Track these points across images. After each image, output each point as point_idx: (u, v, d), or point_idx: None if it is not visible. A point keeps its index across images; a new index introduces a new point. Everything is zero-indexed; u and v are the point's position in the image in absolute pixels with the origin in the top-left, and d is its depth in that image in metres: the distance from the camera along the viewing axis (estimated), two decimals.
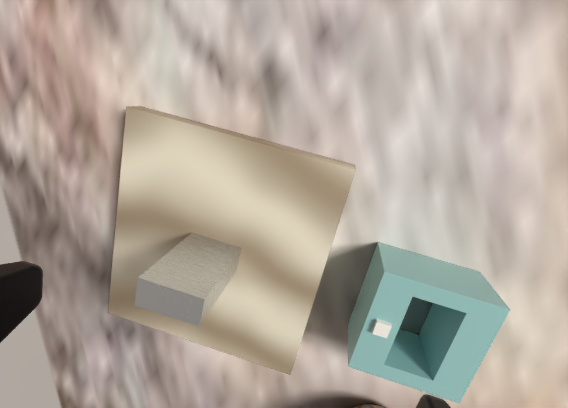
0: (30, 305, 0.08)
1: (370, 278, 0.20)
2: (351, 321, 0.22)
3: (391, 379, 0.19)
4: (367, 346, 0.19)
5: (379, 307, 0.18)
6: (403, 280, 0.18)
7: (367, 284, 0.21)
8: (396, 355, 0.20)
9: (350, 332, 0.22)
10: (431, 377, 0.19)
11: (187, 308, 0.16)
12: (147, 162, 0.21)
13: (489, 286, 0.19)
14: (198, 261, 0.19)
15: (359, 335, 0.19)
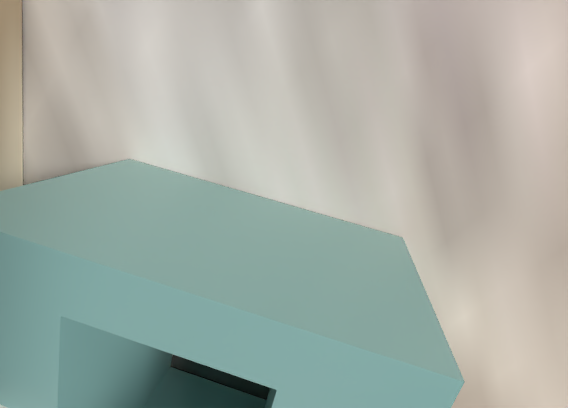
0: None
1: None
2: None
3: None
4: None
5: None
6: (7, 246, 0.04)
7: None
8: None
9: None
10: None
11: None
12: None
13: (410, 276, 0.06)
14: None
15: None
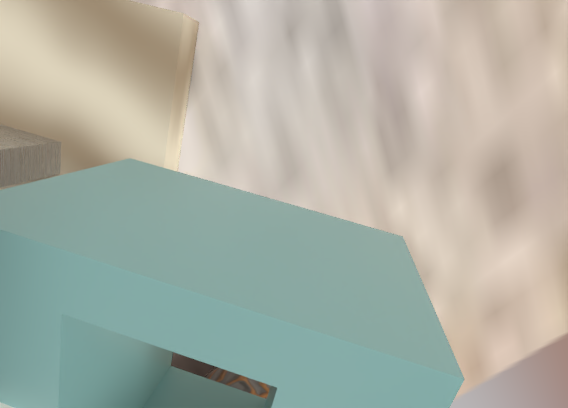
0: None
1: None
2: None
3: None
4: None
5: None
6: (8, 244, 0.04)
7: None
8: None
9: None
10: None
11: None
12: None
13: (410, 274, 0.06)
14: None
15: None
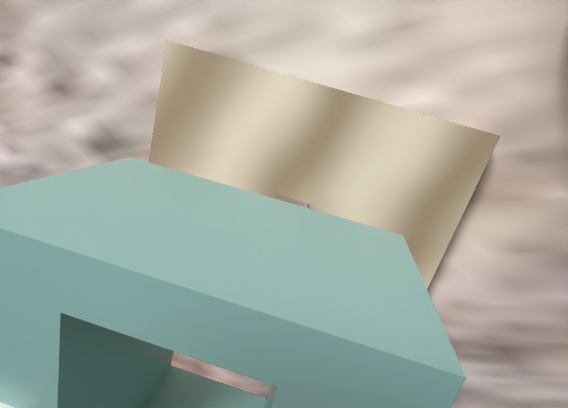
0: None
1: None
2: None
3: None
4: None
5: None
6: (6, 243, 0.04)
7: None
8: None
9: None
10: None
11: None
12: None
13: (411, 273, 0.06)
14: None
15: None
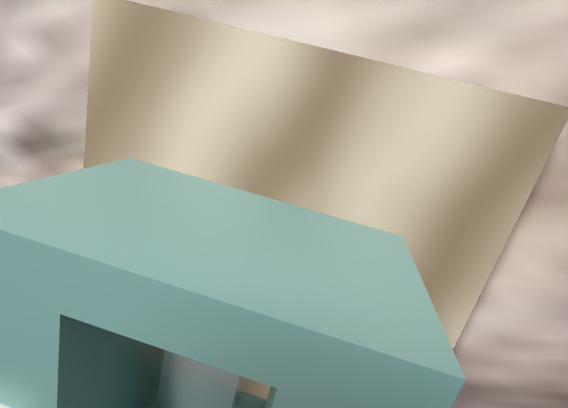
0: None
1: None
2: None
3: None
4: None
5: None
6: (6, 244, 0.04)
7: None
8: None
9: None
10: None
11: None
12: None
13: (411, 274, 0.06)
14: None
15: None
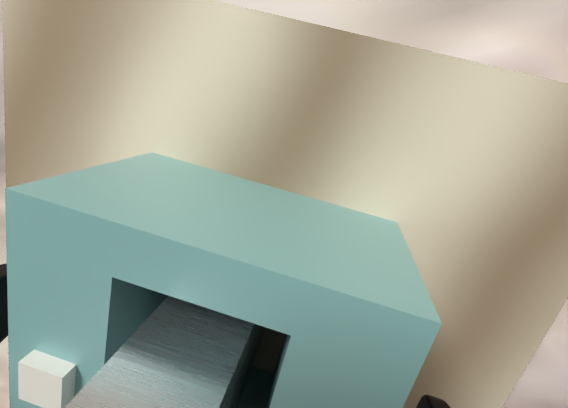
0: None
1: None
2: None
3: None
4: None
5: (30, 314, 0.06)
6: (69, 219, 0.05)
7: None
8: None
9: None
10: None
11: None
12: None
13: (402, 251, 0.06)
14: None
15: None
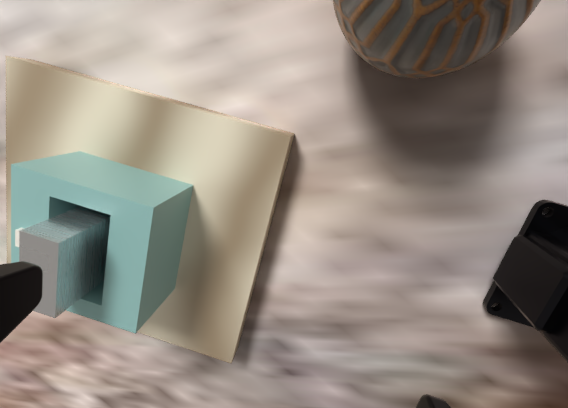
0: (30, 305, 0.08)
1: None
2: None
3: None
4: None
5: (19, 212, 0.15)
6: (33, 174, 0.14)
7: None
8: None
9: None
10: (104, 302, 0.16)
11: (38, 253, 0.13)
12: None
13: (174, 192, 0.16)
14: None
15: None
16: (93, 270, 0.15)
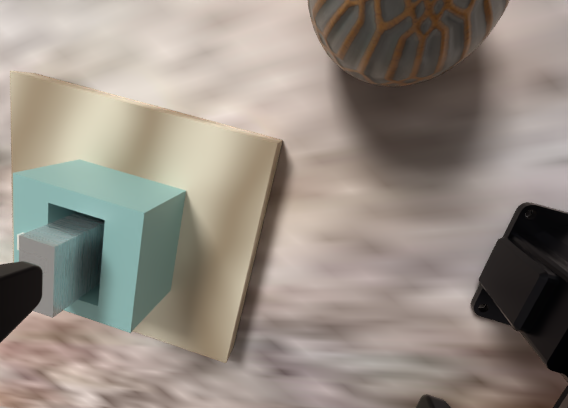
0: (30, 305, 0.08)
1: None
2: None
3: None
4: None
5: (21, 218, 0.16)
6: (33, 182, 0.15)
7: None
8: None
9: None
10: (101, 302, 0.17)
11: (36, 256, 0.14)
12: None
13: (166, 198, 0.17)
14: None
15: None
16: (90, 272, 0.16)
